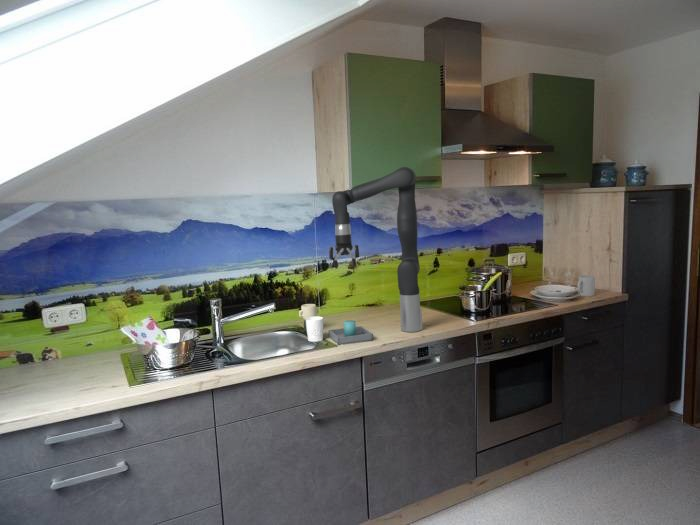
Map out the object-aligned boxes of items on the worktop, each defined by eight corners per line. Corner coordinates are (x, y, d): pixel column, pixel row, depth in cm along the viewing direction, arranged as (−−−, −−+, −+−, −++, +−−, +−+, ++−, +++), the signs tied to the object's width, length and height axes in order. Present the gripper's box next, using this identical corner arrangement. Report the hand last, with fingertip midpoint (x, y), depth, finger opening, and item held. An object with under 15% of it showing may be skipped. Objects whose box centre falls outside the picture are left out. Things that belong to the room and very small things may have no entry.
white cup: (326, 337, 231) (325, 316, 230) (321, 342, 224) (319, 320, 223) (310, 337, 233) (309, 316, 232) (304, 342, 226) (302, 320, 225)
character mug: (315, 328, 250) (314, 302, 249) (323, 330, 245) (322, 304, 243) (296, 332, 244) (294, 306, 242) (304, 335, 238) (302, 308, 237)
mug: (584, 293, 303) (584, 275, 302) (597, 294, 296) (597, 276, 295) (571, 295, 297) (571, 277, 296) (584, 297, 290) (584, 278, 289)
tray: (361, 332, 238) (361, 326, 238) (373, 340, 223) (372, 333, 222) (328, 336, 233) (328, 330, 233) (338, 345, 218) (337, 338, 218)
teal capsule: (354, 335, 231) (353, 320, 231) (357, 337, 226) (356, 322, 226) (343, 336, 230) (342, 321, 229) (346, 339, 225) (345, 323, 224)
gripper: (355, 232, 246) (356, 265, 248) (326, 234, 242) (328, 268, 244) (359, 233, 239) (361, 267, 240) (330, 235, 235) (332, 269, 236)
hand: (344, 267), depth 242 cm, fingers open, 8 cm apart
